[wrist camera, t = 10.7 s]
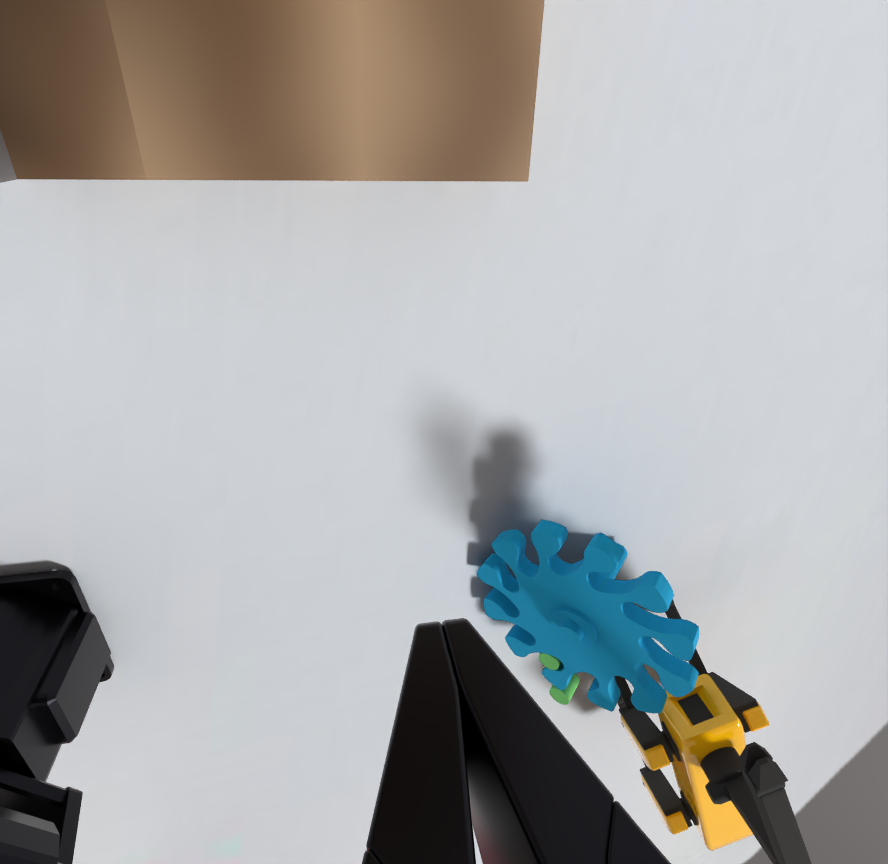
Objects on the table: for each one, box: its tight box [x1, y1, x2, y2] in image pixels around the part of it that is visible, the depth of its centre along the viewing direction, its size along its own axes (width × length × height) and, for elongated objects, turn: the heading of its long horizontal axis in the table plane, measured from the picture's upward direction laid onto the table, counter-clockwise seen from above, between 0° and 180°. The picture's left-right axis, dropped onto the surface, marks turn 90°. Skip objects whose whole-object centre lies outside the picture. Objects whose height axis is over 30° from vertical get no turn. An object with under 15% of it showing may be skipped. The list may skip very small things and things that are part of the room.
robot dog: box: [614, 599, 811, 864], centre depth 26 cm, size 6×18×13 cm, turn 21°
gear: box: [477, 519, 699, 713], centre depth 26 cm, size 11×6×10 cm
